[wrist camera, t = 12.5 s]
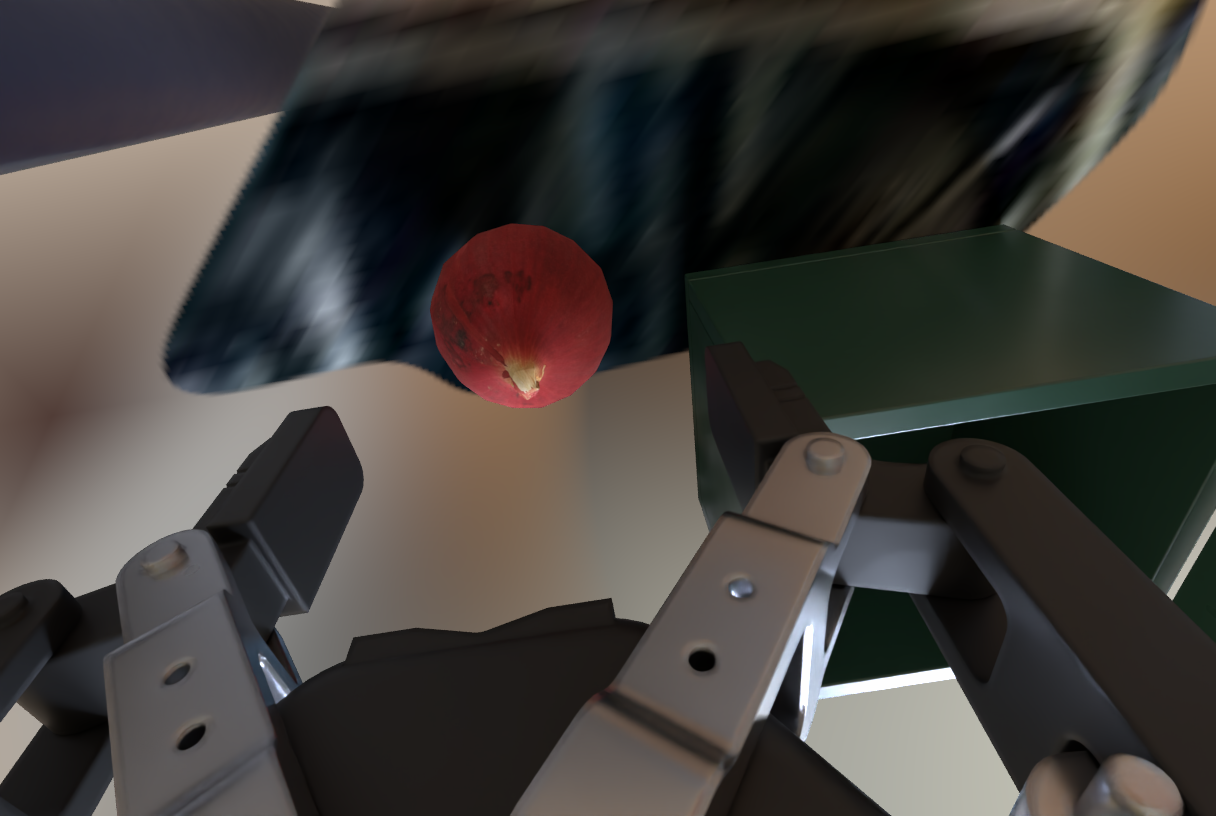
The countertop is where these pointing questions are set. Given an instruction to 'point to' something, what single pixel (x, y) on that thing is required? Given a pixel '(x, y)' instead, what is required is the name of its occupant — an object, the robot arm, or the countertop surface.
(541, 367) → the onion
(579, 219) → the countertop surface
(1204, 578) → the lid
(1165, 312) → the box
